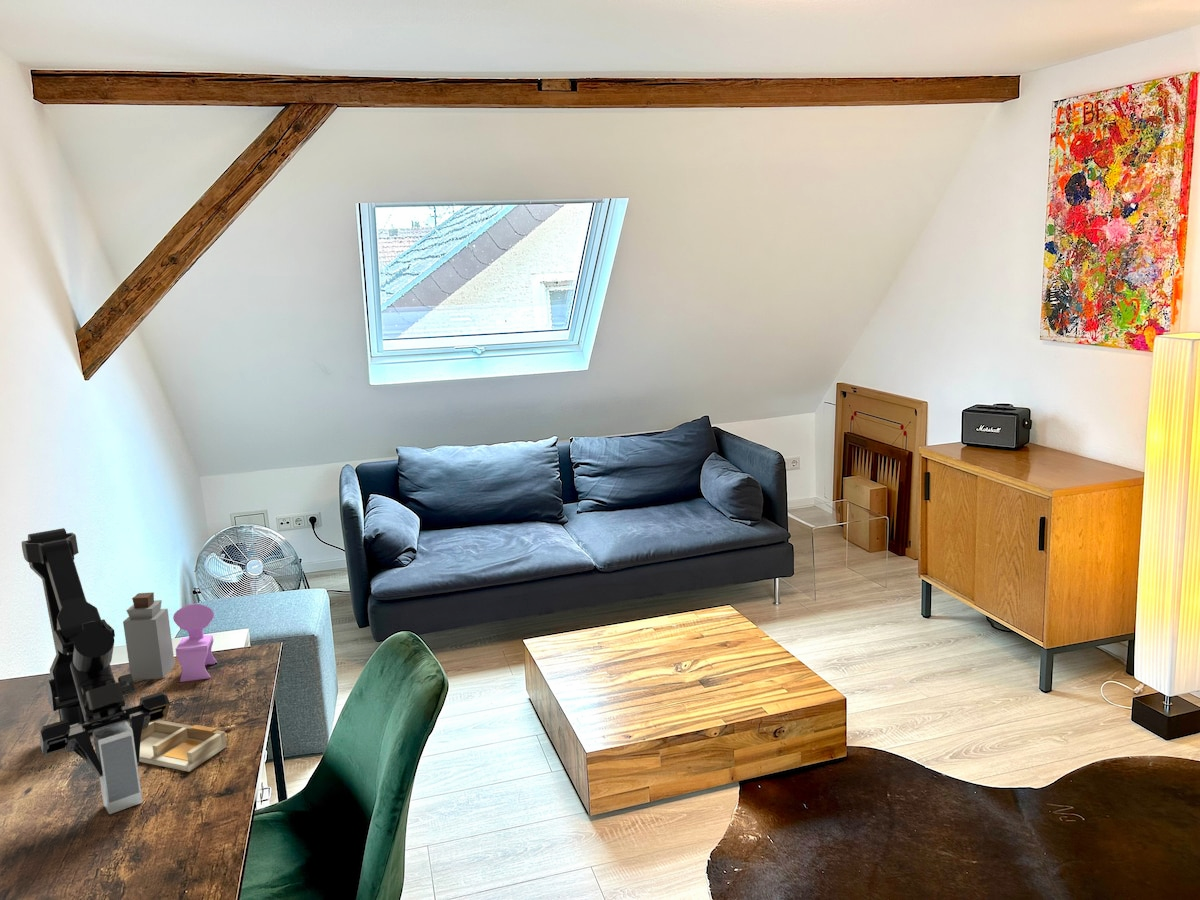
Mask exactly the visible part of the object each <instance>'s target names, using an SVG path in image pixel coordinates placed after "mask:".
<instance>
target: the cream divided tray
mask: <svg viewBox="0 0 1200 900" xmlns="http://www.w3.org/2000/svg"><path fill="white" fill-rule="evenodd" d="M224 749H227V739H226V732H225V731H223V730H218V729H217V728H216V727H210V726H206V725H200V724H194V725H189V724H184V723H178V722H173V721H167V720H163V719H160V720H157V721H154V722H150V723H149V725H148V727H147V728H146V729H143V730H142V733H141V740H140V757H139V763H145V764H149V765H154V766H159V767H165V768H168V769H169V768H170V769H174V770H179V771H182V772H183V771H184V772H191V771H192V770H194V769H196V768H197V767H198V766H200V765H202V764H203V763H204V762H206V761H208V760H209V759H211V758H212V757H213V756H215V755H216V754H218V753H219V752H221V751H222V750H224Z"/></svg>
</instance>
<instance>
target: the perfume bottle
mask: <svg viewBox="0 0 1200 900" xmlns="http://www.w3.org/2000/svg"><path fill="white" fill-rule="evenodd" d="M154 593H155V592H141V593H140V592H139V593H137V594H136V595H135V596H133V597H132V598H131V599H132V603H133V604H132V605H131V606H130V607H128V608H127V609H126V613H127V615H128V617H127V618H126V619H124V620H123V623H122V624H123V625H122V626H123V631H124V637H125V638H124V639H125V645H126V651H127V659H128V665H129V674H131V675H132V677H133V680H134V681H140V680H141V681H142V680H143V681H144V680H156V679H164V678H165V677H166V676H167V675H168V673H170V672H171V670H173V668H174V667H175V666H176V664H175V663H176V662H175V656H174V648H173V641H172V639H173V638H172V634H171V632H172V631H171V627H170V626H171V625H170V617H169V610H168V608H162V604H163V603H162V602H163V600H162V599H159V600H156V599H155V594H154Z"/></svg>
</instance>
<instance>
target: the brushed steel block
mask: <svg viewBox="0 0 1200 900" xmlns="http://www.w3.org/2000/svg"><path fill="white" fill-rule="evenodd" d="M92 736H93V737H92V738H93V742H94V743H93V744H94V750H95V753H96V755H97V758H98V760H99V762H100V765H101V769H102V773H103V776H102V777H99V784H100V791H101V796H102V797H101V798H102V803H103V807H104V808H105V810H106V812H107V814H108V815H112V814H115V813H117V812H120V811H123V810H126V809H128V808H132V807H134V806H137V805H139V804H142V803H143V802H144V801H143V796H142V789H141V787H142V786H141V782H140V781H141V780H140V773H139V767H138V765H137V759H136V751H135V744H134V737H133V730H132V728H131V727H130V723H129V721H124V722H121V723H118V724H114V725H111V726H108V727H104V728H101V729H98V730H94V731H93V732H92Z"/></svg>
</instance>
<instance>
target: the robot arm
mask: <svg viewBox="0 0 1200 900" xmlns="http://www.w3.org/2000/svg"><path fill="white" fill-rule="evenodd" d="M21 550H22V554H23V559H24V560H25V561H26V563H28V564H29V568H30V570H32V571H33V572H34V573H35V574H36V575H37V576H38V577H39V578H40V579H41V581H42V586H43V592H44V596H45V601H46V607H47V612H48V617H49V623H50V629H51V633H52V638H53V644H54V649H55V654H56V655H55V657H54V659H53V661H52V664H51V665H50V668H49V676H50V679H48V680H47V693H46V694H47V698H48V704H49V706H50V707H51V709H52V711H53V712H56V711H58V715H59V716H58V717H59V721H57V722H53V723H49V724H46V725H43V726H42V727H41V729H40V730H39V743H40V744H39V745H40V748H41V752H42V753H41V754H42V755H49V754H53V753H56V752H59V751H62V750H66V752H67V753H72V752H74V753H75V754H76V755H78V756H79V757H80V758H81V759H83V760H84V761H85V762H86V764H88V766H89V767H90V768H91V769H92V770H93V772H95V774H97V776H98V777H99V778H100V777H102V776H103V773H102V769H101V765H100V762H99V760H98V758H97V755H96V751H95V747H94V746H93V743H92V740H91V738H90V737H91V736H90V735H91V734H93V731H94V730H98V729H101V728H104V727H108V726H111V725H114V724H118V723H121V722H124V721H127V722H128V724H129V725H130V727H131V728H132V730H133V737H134V744H135V751H136V759H137V766H138V765H140V762H139V757H140V740H141V733H142V730H143V729H146V728H147V727H148V725H149V723H150V722H154V721H157V720H163V719H165V718H166V717H168V712H169V709H170V705H171V703H170V700H169V697H168V695H167V693H164V691H163V692H162V691H159V692H156V693H153V694H149V695H145V696H142V697H140V699H139V704H138V705H136V706H133V707H129V708H127V709H124V707H126V698H125V696H127V695H131V694H133V693H134V694H135V693H136V691H137V689H136V685H135V680H133V677H132V675H131V674H130V673H127V674H123V675H120V676H119V677H118V678H117V681H118V682H116V679H115V677H114V672H113V669H112V666H111V662H112V658H113V652H114V647H115V637H116V634H115V629H114V628H113V627H112V626H111V625H110V624H108V623H107V621H106V619H104V618H102V619H101V616H100V612H99V611H98V608H97V607H96V606H95V605H93V604H91V603H89V602H88V601H87V599H86V595H85V592H84V590H83V586H82V582H81V580H80V576H79V573H78V569H77V565H76V563H75V555H78V554H79V549H78V541H77V536H76V533H74V532H67V530H66V529H65V528H64V527H62V528H57V529H51V530H45V531H40V532H39V531H38V532H35V533H29V534H27V540H23V541H21Z"/></svg>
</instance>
